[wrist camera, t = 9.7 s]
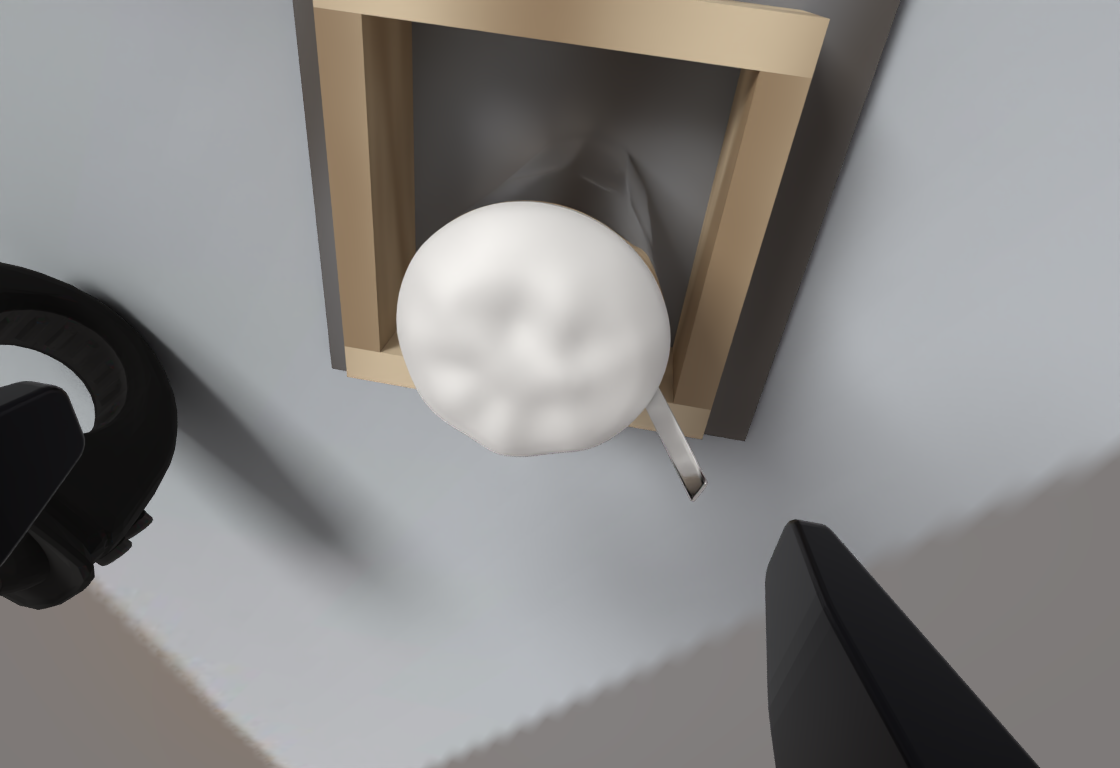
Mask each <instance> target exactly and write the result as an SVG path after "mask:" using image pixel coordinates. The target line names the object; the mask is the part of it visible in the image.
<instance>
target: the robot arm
mask: <svg viewBox="0 0 1120 768" xmlns="http://www.w3.org/2000/svg"><path fill="white" fill-rule="evenodd" d="M84 445H85V438H84V434H83V432H82V429H81V427H80V424H79V422H78V419H77V416H76V414H75V411H74V409H73V406H72V404H71V401H70V399H69V397H68V395H67V393H66V392H65V391H64V390H63V389H62V388H60V387H58V386H54V385H49V384H44V383H38V382H32V381H23V382H18V383H14V384H10V385H7V386H3V387H0V566H1V565H2V564H3V563H4V562H5V560H6V559H7V558H8V557H9V555H10V554H11V553H12V551H13V550H14V549H15V547H16V546H17V545H18V543H19V542H20V541H21V539H22V538H23V536H24V535H25V534H26V532H27V531H28V529H29V528H30V527H31V525H32V524H33V522H34V521H35V520H36V518H37V517H38V515H39V514H40V513H41V511H42V510H43V509H44V507H45V506H46V504H47V503H48V502H49V500H50V499H51V497H52V496H53V495H54V493H55V492H56V490H57V489H58V488H59V486H60V485H61V483H62V482H63V481H64V479H65V478H66V476H67V475H68V474H69V472H70V471H71V469H72V468H73V467H74V465H75V464H76V462H77V461H78V460H79V458H80V457H81V455H82V452H83V450H84ZM765 601H766V643H767V687H768V710H769V719H770V728H771V736H772V743H773V750H774V758H775V765H776V768H1040V767H1039V766H1038V765H1037V764H1036V763H1035V762H1034V760H1033V759H1032V758H1031V757H1030V756H1029V755H1028V753H1027V752H1026V751H1025V750H1024V749H1023V748H1022V747H1021V746H1020V744H1019V743H1018V742H1017V741H1016V740H1015V739H1014V738H1013V736H1012V735H1011V734H1010V733H1009V732H1008V731H1007V730H1006V728H1005V727H1004V726H1003V725H1002V724H1001V723H1000V722H999V720H998V719H997V718H996V717H995V716H994V715H993V714H992V712H991V711H990V710H989V709H988V708H987V707H986V706H985V704H984V703H983V702H982V701H981V700H980V699H979V698H978V697H977V695H976V694H975V693H974V692H973V691H972V690H971V689H970V688H969V686H968V685H967V684H966V683H965V682H964V681H963V679H962V678H961V677H960V676H959V675H958V674H957V673H956V671H955V670H954V669H953V668H952V667H951V666H950V665H949V663H948V662H947V661H946V660H945V659H944V658H943V657H942V656H941V654H940V653H939V652H938V651H937V650H936V649H935V648H934V646H933V645H932V644H931V643H930V642H929V641H928V640H927V638H926V637H925V636H924V635H923V634H922V633H921V632H920V631H919V629H918V628H917V627H916V626H915V625H914V624H913V623H912V621H911V620H910V619H909V618H908V617H907V616H906V615H905V613H904V612H903V611H902V610H901V609H900V608H899V607H898V605H897V604H896V603H895V602H894V601H893V600H892V599H891V598H890V596H889V595H888V594H887V593H886V592H885V591H884V590H883V588H882V587H881V586H880V585H879V584H878V583H877V582H876V580H875V579H874V578H873V577H872V576H871V575H870V574H869V572H868V571H867V570H866V569H865V568H864V567H863V566H862V564H861V563H860V562H859V561H858V560H857V559H856V558H855V556H854V555H853V554H852V553H851V552H850V551H849V550H848V548H847V547H846V546H845V545H844V544H843V543H842V542H841V540H840V539H839V538H838V537H837V536H836V535H835V534H834V533H833V531H832V530H831V529H830V528H828V527H827V526H826V525H823V524H819V523H814V522H808V521H803V520H797V519H795V520H791V521H789V522H788V523H787V525H786V526H785V528H784V530H783V532H782V534H781V537H780V539H779V541H778V544H777V546H776V548H775V550H774V553H773V555H772V557H771V559H770V562H769V564H768V567H767V571H766V579H765Z"/></svg>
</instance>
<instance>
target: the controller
mask: <svg viewBox="0 0 1120 768" xmlns="http://www.w3.org/2000/svg"><path fill="white" fill-rule="evenodd" d="M0 345H15V346H20V347H24V348H28V349H33V350H36V351H39V352H41V353H44V354H46V355H48V356H50V357H52V358H54V359H56V360H58V361H59V362H61V363H63V364H64V365H65V366H67V367H68V368H69V369H71V370H72V371H73V372H74V373H75V374H76V375H77V376H78V377H79V378H80V379H81V380H82V381H83V383H84V384H85V386H86V388H87V389H88V391H89V393H90V394H91V397H92V400H93V403H94V408H95V422H94V427H93V429H92V430H91V431H90V432H88V433H83V434H84V438H85V445H84V450H83V452H82V455H81V457H80V458H79V460H78V461H77V462H76V464H75V465H74V467H73V468H72V469H71V471H70V472H69V474H68V475H67V476H66V478H65V479H64V481H63V482H62V483H61V485H60V486H59V488H58V489H57V490H56V492H55V493H54V495H53V496H52V497H51V499H50V500H49V502H48V503H47V504H46V506H45V507H44V509H43V510H42V511H41V513H40V514H39V515H38V517H37V518H36V520H35V521H34V522H33V524H32V525H31V527H30V528H29V529H28V531H27V532H26V534H25V535H24V536H23V538H22V539H21V541H20V542H19V543H18V545H17V546H16V547H15V549H14V550H13V551H12V553H11V554H10V555H9V557H8V558H7V559H6V560H5V562H4V563H3V564H2V565H1V566H0V596H3V597H5V598H7V599H9V600H11V601H12V602H14V603H16V604H18V605H20V606H25V607H29V608H33V609H37V610H40V609H45V608H49V607H52V606H56V605H59V604H62V603H64V602H65V601H67V600H69V599H70V598H72V597H73V596H75V595H77V594H78V593H80V592H81V591H83V590H84V589H85V588H86V587H87V586H88V585H89V584H90V583H91V581H92V580H93V579H94V577H95V575H94V565H93V564H94V563H95V562H96V563H98V564H99V565H101V566H105V565H108V564H110V563H111V562H113V561H115V560H116V559H118V558H119V557H121V556H122V555H123V554H124V553H126V552H127V551H128V550H129V549H130V548H131V546H132V542H131V541H129V540H128V539H130V538H132V537H134V536H135V535H137V534H138V533H139V532H141V531H142V530H144V529H145V528H146V527H147V526H149V525H150V524H151V523H152V521H153V519H152V517H151V516H150V515H149V514H148V513H146V511H145V510H144V509H145V507H146V506H147V504H148V503H149V501H150V500H151V498H152V497H153V495H154V494H155V492H156V490H157V488H158V487H159V485H160V483H161V481H162V479H163V477H164V475H165V473H166V471H167V469H168V468H169V466H170V463H171V460H172V457H173V454H174V451H175V445H176V437H177V408H176V403H175V398H174V394H173V391H172V389H171V386H170V383H169V381H168V378H167V375H166V373H165V371H164V369H163V367H162V366H161V364H160V362H159V361H158V359H157V357H156V356H155V354H154V352H153V351H152V350H151V349H150V347H149V346H148V345H147V343H146V342H145V341H144V340H143V338H142V337H141V336H140V335H139V334H138V333H137V332H136V331H135V330H134V329H133V328H132V327H131V326H130V325H129V324H128V323H127V322H126V321H124V320H123V319H122V318H121V317H120V316H119V315H117V314H116V313H115V312H114V311H113V310H112V309H110V308H109V307H107V306H106V305H104V304H103V303H101V302H100V301H98V300H97V299H95V298H94V297H92V296H90V295H88V294H86V293H85V292H83V291H81V290H79V289H77V288H75V287H74V286H72V285H70V284H67V283H65V282H62V281H60V280H57V279H55V278H52V277H50V276H47V275H45V274H42V273H40V272H36V271H33V270H30V269H26V268H23V267H19V266H15V265H10V264H6V263H1V262H0Z"/></svg>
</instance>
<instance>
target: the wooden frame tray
mask: <svg viewBox="0 0 1120 768" xmlns="http://www.w3.org/2000/svg"><path fill="white" fill-rule="evenodd" d="M900 1H901V0H293V8H294V17H295V27H296V36H297V45H298V55H299V64H300V73H301V83H302V92H303V101H304V111H305V120H306V129H307V139H308V148H309V157H310V167H311V176H312V185H313V195H314V204H315V213H316V223H317V232H318V242H319V251H320V260H321V270H322V279H323V288H324V298H325V307H326V316H327V326H328V335H329V344H330V354H331V363H332V368H333V369H338V370H344V371H347V377H352V378H357V379H363V380H369V381H374V382H380V383H386V384H391V385H397V386H403V387H408V388H414V389H416V387H415V385H414V383H413V381H412V378H411V376H410V374H409V371H408V369H407V366H406V363H405V360H404V358H403V355H402V351H401V348H400V344H399V340H398V334H397V324H396V314H397V303H398V297H399V292H400V288H401V284H402V281H403V278H404V275H405V273H406V270H407V268H408V266H409V264H410V262H411V260H412V259H413V257H414V255H415V254H416V252H417V251H418V250H419V248H420V247H421V246H422V245H423V244H424V243H425V242H426V241H427V240H428V239H429V238H430V237H431V236H432V235H433V234H434V233H435V232H437V231H438V230H439V229H441V228H442V227H443V226H445V225H446V224H447V223H449V222H450V221H451V220H453V219H454V218H455V217H457V216H458V215H460V214H461V213H463V212H464V211H465V210H467V209H468V208H470V207H471V206H472V205H474V204H475V203H477V202H478V201H479V200H481V199H482V198H484V197H485V196H486V195H488V194H489V193H491V192H492V191H493V190H495V189H496V188H497V187H499V186H500V185H501V184H502V183H504V182H505V181H506V180H507V179H508V178H510V177H511V176H512V175H513V174H514V173H515V172H517V171H518V170H519V169H520V168H521V167H522V166H524V165H525V164H526V163H527V162H528V161H530V160H531V159H532V158H533V157H534V156H535V155H537V154H538V153H539V152H540V151H541V150H542V149H544V148H545V147H546V146H547V145H548V144H550V143H551V142H552V141H557V140H562V139H567V138H572V137H577V136H581V135H586V134H593V135H595V136H597V137H599V138H601V139H603V140H605V141H607V142H609V143H611V144H613V145H615V146H617V147H620V148H622V149H624V150H626V151H627V152H628V154H629V156H630V158H631V160H632V162H633V164H634V166H635V168H636V170H637V172H638V174H639V176H640V178H641V180H642V182H643V184H644V186H645V189H646V195H647V202H648V209H649V216H650V223H651V231H652V238H653V245H654V254H655V259H656V264H657V269H658V273H659V278H660V282H661V287H662V291H663V296H664V300H665V305H666V309H667V313H668V318H669V324H670V335H671V342H670V352H669V358H668V363H667V366H666V370H665V373H664V375H663V378H662V381H661V383H660V385H659V388H660V390H661V392H662V394H663V396H664V397H665V399H666V401H667V403H668V405H669V407H670V409H671V411H672V413H673V415H674V417H675V419H676V421H677V422H678V424H679V426H680V428H681V430H682V432H683V434H684V436H685V437H691V438H696V439H702V438H703V435H704V434H707V435H712V436H718V437H724V438H729V439H735V440H741V441H745V439H746V436H747V433H748V430H749V428H750V425H751V422H752V419H753V416H754V413H755V411H756V408H757V405H758V402H759V399H760V397H761V394H762V391H763V388H764V385H765V382H766V380H767V377H768V374H769V371H770V368H771V365H772V363H773V360H774V357H775V354H776V351H777V348H778V346H779V343H780V340H781V337H782V334H783V331H784V329H785V326H786V323H787V320H788V317H789V314H790V312H791V309H792V306H793V303H794V300H795V298H796V295H797V292H798V289H799V286H800V283H801V281H802V278H803V275H804V272H805V269H806V266H807V264H808V261H809V258H810V255H811V252H812V249H813V247H814V244H815V241H816V238H817V235H818V232H819V230H820V227H821V224H822V221H823V218H824V216H825V213H826V210H827V207H828V204H829V201H830V199H831V196H832V193H833V190H834V187H835V184H836V182H837V179H838V176H839V173H840V170H841V167H842V165H843V162H844V159H845V156H846V153H847V150H848V148H849V145H850V142H851V139H852V136H853V133H854V131H855V128H856V125H857V122H858V119H859V117H860V114H861V111H862V108H863V105H864V102H865V100H866V97H867V94H868V91H869V88H870V85H871V83H872V80H873V77H874V74H875V71H876V68H877V66H878V63H879V60H880V57H881V54H882V51H883V49H884V46H885V43H886V40H887V37H888V34H889V32H890V29H891V26H892V23H893V20H894V18H895V15H896V12H897V9H898V6H899V3H900ZM629 427H634V428H640V429H646V430H651V431H656V429H655V427H654V424H653V422H652V420H651V418H650V416H649V414H648V412H647V410H646V408H645V409H644V410H643V411H642V412H641V414H640V415H639V416H638V417H637V418H636V419H635V420H634V421H633V422H632V423H631V424H630V425H629Z"/></svg>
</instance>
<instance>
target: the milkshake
mask: <svg viewBox="0 0 1120 768" xmlns="http://www.w3.org/2000/svg"><path fill="white" fill-rule="evenodd" d="M396 324H397V334H398V340H399V344H400V348H401V351H402V355H403V358H404V360H405V363H406V366H407V369H408V371H409V374H410V376H411V378H412V381H413V383H414V385H415V387H416V389H417V391H418V393H419V394H420V396H421V398H422V399H423V401H424V402H425V403H426V404H427V406H428V407H429V408H430V409H431V410H432V411H433V412H434V413H435V414H436V415H437V416H438V417H440V418H441V419H442V420H443V421H445V422H446V423H448V424H449V425H450V426H452V427H454V428H455V429H457V430H459V431H460V432H462V433H464V434H465V435H467V436H469V437H470V438H472V439H473V440H475V441H476V442H478V443H479V444H481V445H482V446H484V447H485V448H487V449H488V450H490V451H492V452H494V453H497V454H500V455H504V456H513V457H528V456H538V455H545V454H553V453H563V452H574V451H581V450H586V449H589V448H592V447H595V446H598V445H600V444H602V443H604V442H606V441H608V440H610V439H611V438H613V437H614V436H616V435H617V434H619V433H620V432H621V431H623V430H624V429H625V428H626V427H628V426H629V425H630V424H631V423H632V422H633V421H634V420H635V419H636V418H637V417H638V416H639V415H640V414H641V412H642V411H643V410H644V409H645V408H646V410H647V412H648V414H649V416H650V418H651V420H652V422H653V424H654V427H655V429H656V431H657V433H658V435H659V437H660V439H661V441H662V443H663V445H664V447H665V449H666V451H667V454H668V456H669V458H670V460H671V462H672V464H673V466H674V468H675V470H676V472H677V474H678V476H679V478H680V481H681V483H682V485H683V487H684V489H685V491H686V493H687V495H688V497H689V499H690V500H691V501H692V502H694V501H695V500H696V499H697V498H698V497H699V495H700V494H701V493H702V492H703V490H704V489H705V488H706V486H707V484H708V482H707V479H706V477H705V475H704V473H703V471H702V469H701V467H700V465H699V463H698V461H697V459H696V457H695V455H694V453H693V451H692V449H691V447H690V446H689V444H688V442H687V440H686V438H685V436H684V434H683V432H682V430H681V428H680V426H679V424H678V422H677V421H676V419H675V417H674V415H673V413H672V411H671V409H670V407H669V405H668V403H667V401H666V399H665V397H664V396H663V394H662V392H661V390H660V388H659V385H660V383H661V381H662V378H663V375H664V373H665V370H666V366H667V363H668V358H669V352H670V342H671V335H670V324H669V318H668V313H667V309H666V305H665V300H664V296H663V291H662V287H661V282H660V278H659V273H658V269H657V264H656V259H655V254H654V245H653V238H652V231H651V223H650V216H649V209H648V202H647V195H646V189H645V186H644V184H643V182H642V180H641V178H640V176H639V174H638V172H637V170H636V168H635V166H634V164H633V162H632V160H631V158H630V156H629V154H628V152H627V151H626V150H624V149H622V148H620V147H617V146H615V145H613V144H611V143H609V142H607V141H605V140H603V139H601V138H599V137H597V136H595V135H593V134H586V135H581V136H577V137H572V138H567V139H562V140H557V141H552V142H551V143H550V144H548V145H547V146H546V147H545V148H544V149H542V150H541V151H540V152H539V153H538V154H537V155H535V156H534V157H533V158H532V159H531V160H530V161H528V162H527V163H526V164H525V165H524V166H522V167H521V168H520V169H519V170H518V171H517V172H515V173H514V174H513V175H512V176H511V177H510V178H508V179H507V180H506V181H505V182H504V183H502V184H501V185H500V186H499V187H497V188H496V189H495V190H493V191H492V192H491V193H489V194H488V195H486V196H485V197H484V198H482V199H481V200H479V201H478V202H477V203H475V204H474V205H472V206H471V207H470V208H468V209H467V210H465V211H464V212H463V213H461V214H460V215H458V216H457V217H455V218H454V219H453V220H451V221H450V222H449V223H447V224H446V225H445V226H443V227H442V228H441V229H439V230H438V231H437V232H435V233H434V234H433V235H432V236H431V237H430V238H429V239H428V240H427V241H426V242H425V243H424V244H423V245H422V246H421V247H420V248H419V250H418V251H417V252H416V254H415V255H414V257H413V259H412V260H411V262H410V264H409V266H408V268H407V270H406V273H405V275H404V278H403V281H402V284H401V288H400V292H399V297H398V303H397V314H396Z"/></svg>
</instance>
